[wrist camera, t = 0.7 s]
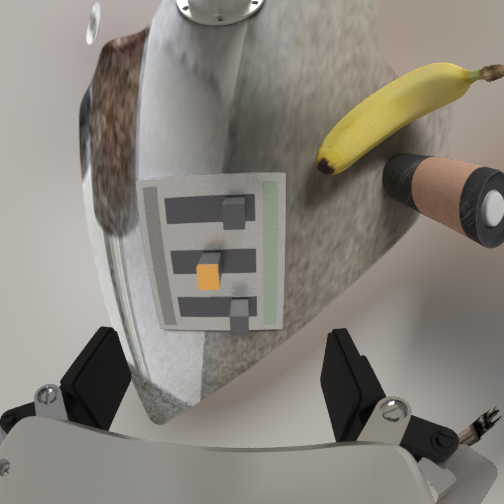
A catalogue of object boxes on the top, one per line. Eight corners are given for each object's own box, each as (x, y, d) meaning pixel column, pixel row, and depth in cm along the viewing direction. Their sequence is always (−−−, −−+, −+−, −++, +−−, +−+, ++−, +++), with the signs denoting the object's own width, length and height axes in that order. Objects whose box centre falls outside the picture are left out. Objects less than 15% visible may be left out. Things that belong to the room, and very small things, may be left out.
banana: (322, 183, 36) (391, 223, 17) (295, 150, 34) (345, 155, 16) (425, 99, 31) (521, 90, 12) (403, 68, 29) (495, 38, 10)
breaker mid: (202, 252, 38) (196, 267, 33) (221, 251, 38) (217, 267, 33) (204, 272, 39) (198, 290, 34) (222, 272, 39) (219, 289, 34)
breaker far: (231, 299, 40) (229, 316, 36) (248, 299, 40) (248, 316, 36) (232, 316, 42) (230, 334, 37) (248, 315, 42) (248, 333, 37)
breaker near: (225, 197, 35) (222, 204, 31) (245, 196, 35) (244, 203, 31) (226, 219, 36) (223, 230, 32) (245, 219, 36) (245, 229, 32)
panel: (139, 179, 36) (135, 181, 34) (284, 171, 36) (285, 172, 34) (162, 323, 44) (160, 329, 43) (281, 323, 44) (282, 329, 43)
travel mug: (393, 211, 37) (481, 265, 19) (372, 166, 35) (466, 193, 16) (427, 187, 36) (521, 224, 17) (409, 143, 34) (509, 156, 15)
